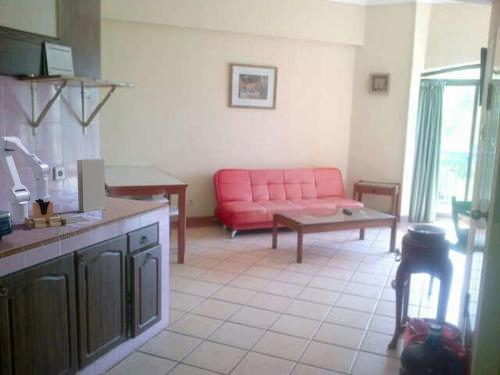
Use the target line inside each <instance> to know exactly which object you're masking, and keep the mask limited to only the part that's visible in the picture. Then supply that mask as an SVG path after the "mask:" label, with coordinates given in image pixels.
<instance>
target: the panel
mask: <svg viewBox="0 0 500 375" xmlns="http://www.w3.org/2000/svg"><path fill="white" fill-rule="evenodd" d="M49 201H50V203H49V205H48V209H47V214H46V215H42V214H41V210H40V206H39V204H38V202H36V201H35V202H32V203H31V205H32V219H39V218H45V219H46V220H49V217H54V202H53V201H52V200H49ZM33 221H34V220H33Z"/></svg>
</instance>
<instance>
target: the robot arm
mask: <svg viewBox="0 0 500 375" xmlns="http://www.w3.org/2000/svg"><path fill="white" fill-rule="evenodd" d="M15 152H16V153H18V154H19V155H20V156H21V157H22V158H23V159H24V162H25V163H26V165H27V166H28V167H30V168H31V171H32V174H33V177H34V180H35V200H34V201H35V202H38V204H39V206H40V210H41V214H42V215H46V214H47V209H48V205H49V203H50V201H51V200H49V198H52V195H51V194H50V195H49V174H50V173H51V167H50V165H49V164H48V163H47V162H44V161H42V160H41V159H40V158H38V156H37V155H36V154H35V153H30V152H29V151H28V150H27V148H26V147H25V146H24V145H23V144H22V140H21V139H20V138H19V137H18V136H15V135H14V136H0V160H1V164H2V167H3V171H4V172H5V175H6V178H7V182H8V184H9V188H8V189H7V191H6V194H7V201H8V203H9V204H10V205H11V217H10V218H11V219H10V221H12V222H13V223H17V222H18V223H20V222H25V220H24V218H25V217H27V218H28V219H30V218H29V211H28V209H29V206H28V204H29V202H30V200H31V198H32V196H31V193H30V191H29V190H28V187H27V186H25V185H24V184H22V182H21V179H20V176H19V173H18V170H17V167H16V164H15V161H14V158H13V155H14V154H15Z"/></svg>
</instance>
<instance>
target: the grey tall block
mask: <svg viewBox="0 0 500 375" xmlns="http://www.w3.org/2000/svg"><path fill="white" fill-rule="evenodd" d="M76 173H77V203H78V207H77V208H78V212H85V213H91V212H90V211H92V212H98V211H104V209H105V210H106V181H105V179H106V178H105V177H106V176H105V175H106V173H105V159H104V158H103V159H100V158H88V159H86V158H85V159H76Z"/></svg>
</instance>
